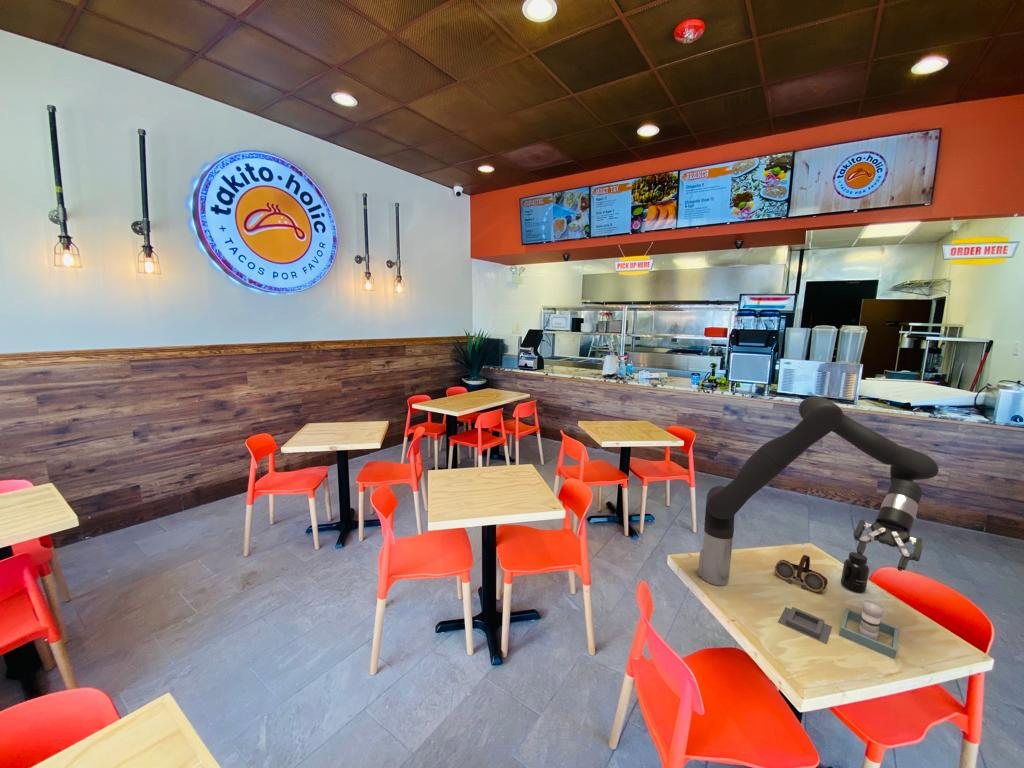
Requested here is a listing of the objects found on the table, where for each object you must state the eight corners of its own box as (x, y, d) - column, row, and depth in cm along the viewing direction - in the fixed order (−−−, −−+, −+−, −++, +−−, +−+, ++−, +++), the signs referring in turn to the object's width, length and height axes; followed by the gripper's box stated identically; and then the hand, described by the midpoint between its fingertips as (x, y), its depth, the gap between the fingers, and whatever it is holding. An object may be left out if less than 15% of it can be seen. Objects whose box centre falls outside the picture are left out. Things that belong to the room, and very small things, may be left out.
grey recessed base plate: (777, 625, 125) (778, 617, 125) (785, 609, 133) (786, 602, 132) (826, 647, 117) (827, 639, 117) (831, 629, 124) (833, 621, 124)
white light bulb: (857, 635, 121) (862, 604, 119) (859, 628, 124) (864, 597, 122) (876, 643, 118) (882, 611, 116) (877, 636, 121) (883, 604, 119)
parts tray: (838, 638, 121) (840, 627, 120) (844, 618, 129) (846, 608, 129) (894, 662, 112) (896, 650, 112) (896, 639, 121) (898, 628, 120)
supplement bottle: (859, 596, 140) (865, 563, 138) (836, 584, 146) (841, 552, 144) (869, 590, 143) (875, 558, 142) (846, 579, 149) (851, 548, 148)
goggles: (771, 576, 150) (776, 549, 150) (781, 570, 159) (786, 544, 159) (822, 597, 139) (828, 568, 139) (830, 590, 148) (835, 562, 148)
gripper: (864, 498, 125) (846, 544, 120) (930, 516, 114) (912, 568, 109) (867, 510, 129) (849, 556, 124) (931, 529, 118) (914, 580, 113)
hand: (879, 562), depth 116 cm, fingers open, 8 cm apart
